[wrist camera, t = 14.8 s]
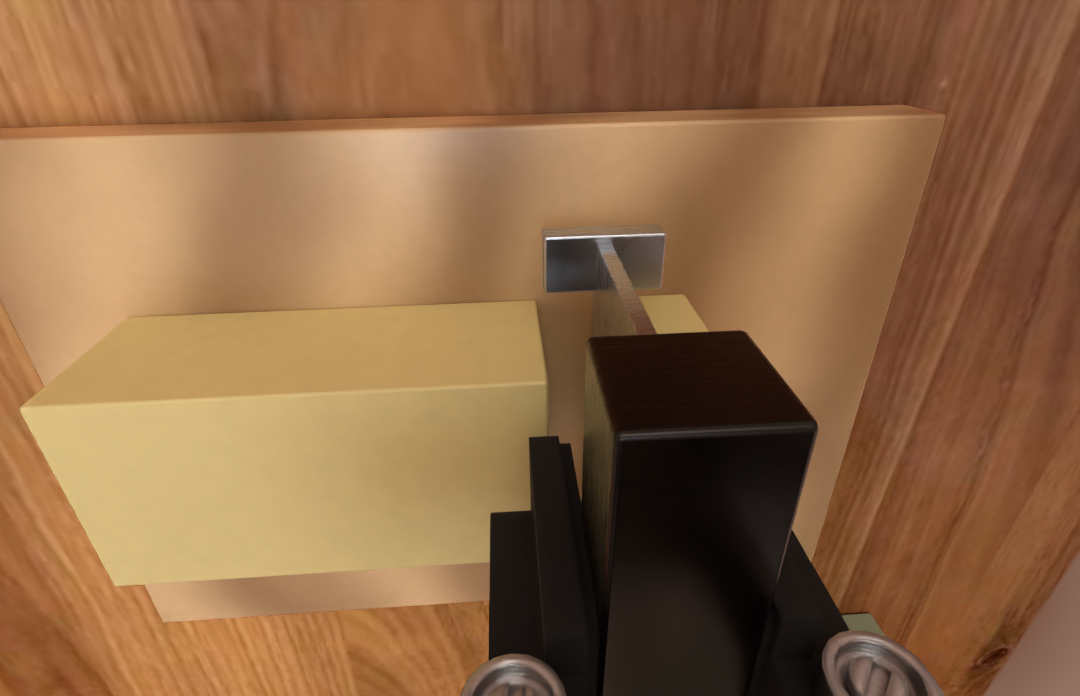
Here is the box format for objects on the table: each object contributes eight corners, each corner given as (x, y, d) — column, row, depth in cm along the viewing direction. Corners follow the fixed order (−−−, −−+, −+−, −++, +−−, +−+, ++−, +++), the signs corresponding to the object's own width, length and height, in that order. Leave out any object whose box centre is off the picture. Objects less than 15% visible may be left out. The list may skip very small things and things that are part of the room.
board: (904, 104, 13) (949, 113, 12) (787, 544, 20) (807, 580, 19) (-23, 127, 12) (-84, 141, 11) (184, 582, 19) (162, 624, 18)
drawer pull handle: (661, 208, 12) (845, 423, 6) (632, 533, 16) (717, 854, 10) (540, 212, 12) (591, 436, 6) (545, 539, 16) (575, 866, 10)
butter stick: (536, 299, 14) (548, 382, 10) (539, 453, 16) (549, 559, 13) (126, 316, 13) (15, 408, 10) (189, 473, 15) (113, 587, 12)
